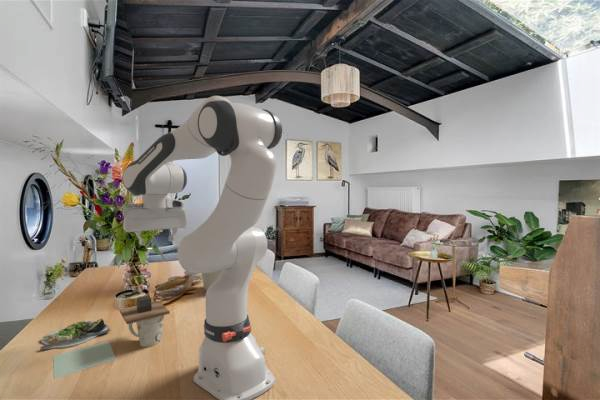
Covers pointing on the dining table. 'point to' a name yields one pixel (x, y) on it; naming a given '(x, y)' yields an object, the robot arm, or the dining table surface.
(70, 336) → the salad plate
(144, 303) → the walnut lid
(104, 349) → the green mat
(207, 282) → the canister
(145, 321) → the mug
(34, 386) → the dining table surface
